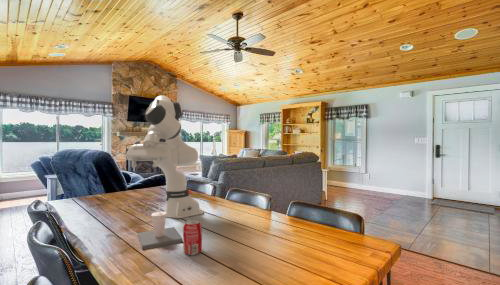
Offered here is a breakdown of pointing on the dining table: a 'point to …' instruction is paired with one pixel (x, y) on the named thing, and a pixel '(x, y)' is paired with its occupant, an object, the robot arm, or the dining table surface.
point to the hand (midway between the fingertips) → (144, 166)
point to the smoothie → (159, 222)
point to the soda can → (192, 237)
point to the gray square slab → (159, 238)
